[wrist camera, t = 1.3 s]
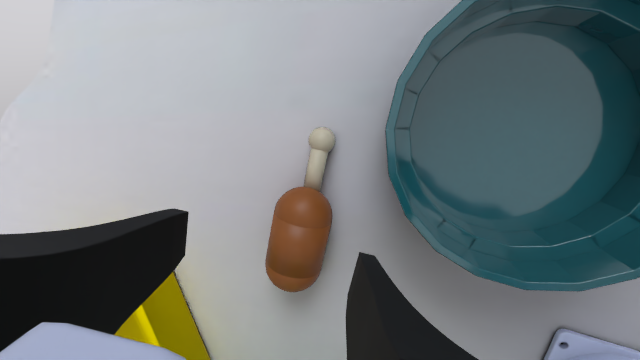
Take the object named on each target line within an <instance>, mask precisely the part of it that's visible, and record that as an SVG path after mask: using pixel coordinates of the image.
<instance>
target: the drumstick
mask: <svg viewBox="0 0 640 360" xmlns="http://www.w3.org/2000/svg"><path fill="white" fill-rule="evenodd" d="M309 145H310V147H311V151H310V156H309V161H308V166H307V172H306V177H305V182H304V187H297V188H293V189H291V190H289V191H287V192H286V193H285V194H283V195H282V197H281V198H280V199H279V200H278V202H277V204H276V207H275V210H274V215H273V221H272V227H271V232H270V238H269V244H268V249H267V255H266V263H265V265H266V272H267V274H268V277H269V279H270V280H271V281H272V283H273V284H274V285H275V286H276V287H278V288H280V289H281V290H284V291H287V292H298V291H302V290H305V289H307V288H308V287H310V286H311V285H312V284H313V283H314V282H315V281H316V279H317V278H318V276H319V274H320V271H321V267H322V263H323V258H324V254H325V249H326V245H327V241H328V236H329V232H330V227H331V223H332V210H331V206H330V204H329V202H328V200H327V199H326V197H325V196H324V195H323V194H322V193H320V189H321V184H322V179H323V174H324V170H325V165H326V160H327V156H328V152H329V151H331V150H332V148H333V147H334V145H335V136H334V134H333V132H332V131H331V130H330V129H328V128H325V127H319V128H316V129H314V130H313V131H312V132H311V134H310V136H309Z"/></svg>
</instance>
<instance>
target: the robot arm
mask: <svg viewBox="0 0 640 360" xmlns="http://www.w3.org/2000/svg"><path fill="white" fill-rule="evenodd" d="M187 223H188V212H187V211H182V210H178V209H167V210H162V211H158V212H153V213H149V214H145V215H141V216H137V217H132V218H128V219H124V220H119V221H115V222H110V223H105V224H100V225H95V226H89V227H83V228H76V229H69V230H61V231H50V232H38V233H26V234H0V360H186V358H184V357H182V356H180V355H178V354H176V353H174V352H172V351H170V350H168V349H166V348H163V347H159V346H155V345H151V344H147V343H143V342H139V341H135V340H131V339H127V338H123V337H120V336H116V335H115V333H116V332H117V331H118V330H119V328H120V327H121V326H122V325H123V324H124V322H125V321H126V320H127V319H128V318H129V317H130V316H131V315H132V314H133V313H134V312H135V311H136V310H137V309H138V308H139V307H140V306H141V305H142V304H143V303H144V302H145V300H146V299H147V298H148V297H149V296H150V295H151V294H152V293H153V292H154V291H155V290H156V289H157V288H158V287H159V286H160V285H161V284H162V283H163V282H164V281H165V280H166V279H167V278H168V277H169V276H170V275H171V273H172V272H173V271H174V270H175V268H176V267H177V266H178V264H179V263H180V261H181V260H182V258H183V257H184V256H185V248H186V235H187ZM346 340H347V360H478V359H477V358H475V357H474V356H472V355H471V354H469V353H468V352H466V351H465V350H464V349H462V348H461V347H459V346H458V345H456V344H455V343H454V342H453V341H451V340H450V339H449V338H447V337H446V336H445V335H444V334H442V333H441V332H440V331H439V330H438V329H436V328H435V327H434V326H433V325H432V324H431V323H429V322H428V321H427V320H426V319H425V318H424V317H423V316H422V315H421V314H420V313H419V312H418V311H417V310H416V309H415V308H414V307H413V306H412V305H411V304H410V303H409V302H408V300H407V299H406V298H405V297H404V296H403V294H402V293H401V292H400V291H399V290H398V288H397V287H396V286H395V284H394V283H393V282H392V280H391V279H390V278H389V276H388V275H387V273H386V272H385V271H384V269H383V268H382V266H381V265H380V263H379V262H378V260H377V259H376V257H375V256H373V255H369V254H365V253H361V252H359V256H358V259H357V263H356V267H355V270H354V274H353V278H352V281H351V285H350V289H349V292H348V299H347V309H346ZM561 342H565V343H564V344H563V345H559V344H560V343H561ZM544 360H640V351H637V350H634V349H630V348H627V347H624V346H621V345H617V344H614V343H611V342H607V341H604V340H601V339H597V338H594V337H591V336H588V335H584V334H581V333H578V332H574V331H571V330H568V329H560V330H558V331H557V332H556V333H555V336H554V338H553V340H552V342H551V345H550V347H549V349H548V351H547V353H546V356H545V358H544Z"/></svg>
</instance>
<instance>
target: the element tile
mask: <svg viewBox="0 0 640 360" xmlns="http://www.w3.org/2000/svg"><path fill="white" fill-rule="evenodd" d="M115 335H116V336H120V337H123V338H127V339H131V340H135V341H139V342H143V343H147V344H151V345H155V346H159V347H163V348H166V349H168V350H170V351H172V352H174V353H176V354H178V355H180V356H182V357H184V358H186V360H210V357H209V355H208V353H207V350H206V348H205V346H204V343H203V341H202V339H201V336H200V334H199V332H198V329H197V327H196V325H195V322H194V320H193V318H192V315H191V313H190V310H189V308H188V306H187V303H186V301H185V299H184V296H183V294H182V292H181V289H180V287H179V285H178V282H177V280H176V278H175V275H174V273H173V272H172V273H171V275H170V276H169V277H168V278H167V279H166V280H165V281H164V282H163V283H162V284H161V285H160V286H159V287H158V288H157V289H156V290H155V291H154V292H153V293H152V294H151V295H150V296H149V297H148V298H147V299H146V300H145V302H144V303H143V304H142V305H141V306H140V307H139V308H138V309H137V310H136V311H135V312H134V313H133V314H132V315H131V316H130V317H129V318H128V319H127V320H126V321H125V322H124V324H123V325H122V326H121V327H120V328H119V330H118V331H117V332H116V333H115Z"/></svg>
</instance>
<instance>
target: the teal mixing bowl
mask: <svg viewBox="0 0 640 360" xmlns="http://www.w3.org/2000/svg"><path fill="white" fill-rule="evenodd" d="M385 132H386V146H387V160H388V174H389V177H390V180H391V182H392V185H393V187H394V189H395V192H396V194H397V197H398V199H399V201H400V204H401V206H402V209H403V211H404V213H405V216H406V217H407V218H408V220H409V221H410V222H411V223H412V224H413V225H414V227H415V228H416V229H417V230H418V231H419V232H420V233H421V235H422V236H423V237H424V238H425V239H426V240H427V242H428V243H429V244H430V245H431V246H432V247H433V248H434V250H436V251H437V252H438V253H440V254H442V255H443V256H445V257H446V258H448V259H450V260H451V261H453V262H454V263H456V264H458V265H459V266H461V267H463V268H464V269H466V270H467V271H469V272H471V273H472V274H474V275H476V276H478V277H482V278H485V279H489V280H492V281H496V282H499V283H503V284H506V285H510V286H513V287H517V288H520V289H523V290H546V291H584V290H589V289H593V288H597V287H602V286H606V285H610V284H615V283H619V282H623V281H628V280H632V279H637V278H639V277H640V0H462V1H461V2H460V3H459V4H458V5H456V6H455V7H454V8H453V9H452V10H451V11H450V12H449V13H448V14H447V15H446V16H445V17H444V18H442V19H441V20H440V21H439V22H438V23H437V24H436V25H435V26H434V27H433V28H432V29H431V30H430V31H429V32H427V33H426V35H425V36H424V38H423V39H422V41H421V43H420V44H419V46H418V48H417V49H416V51H415V53H414V54H413V56H412V58H411V59H410V61H409V63H408V64H407V66H406V68H405V69H404V71H403V73H402V74H401V76H400V77H399V79H398V82H397V85H396V88H395V92H394V96H393V100H392V104H391V108H390V112H389V116H388V120H387V124H386V130H385Z"/></svg>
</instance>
